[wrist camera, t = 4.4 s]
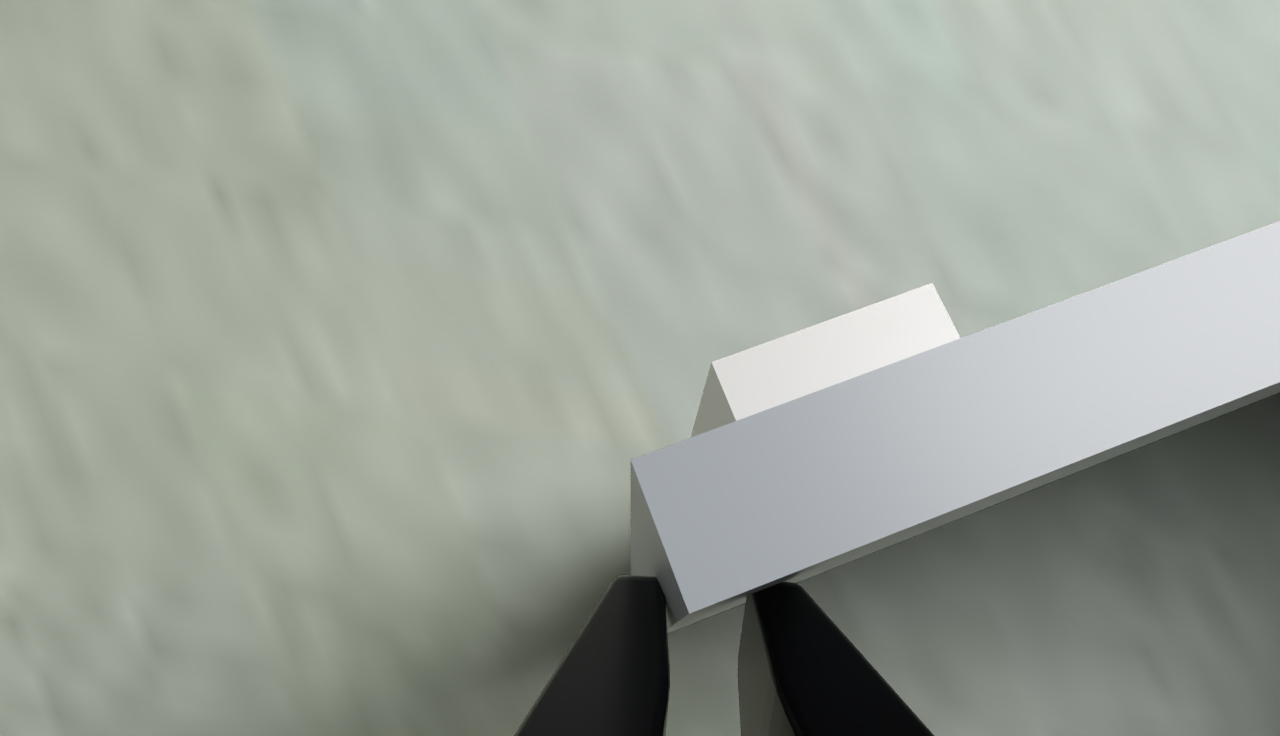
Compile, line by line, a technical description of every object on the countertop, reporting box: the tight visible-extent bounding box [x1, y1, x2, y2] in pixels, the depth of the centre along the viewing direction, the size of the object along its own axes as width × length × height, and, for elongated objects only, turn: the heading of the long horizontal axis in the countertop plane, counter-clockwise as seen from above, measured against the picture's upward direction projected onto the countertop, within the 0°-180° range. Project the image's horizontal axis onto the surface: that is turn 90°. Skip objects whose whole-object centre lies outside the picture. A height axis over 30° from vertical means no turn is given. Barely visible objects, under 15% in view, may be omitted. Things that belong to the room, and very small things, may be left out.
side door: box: [631, 221, 1280, 633], centre depth 11 cm, size 13×2×9 cm, turn 111°
